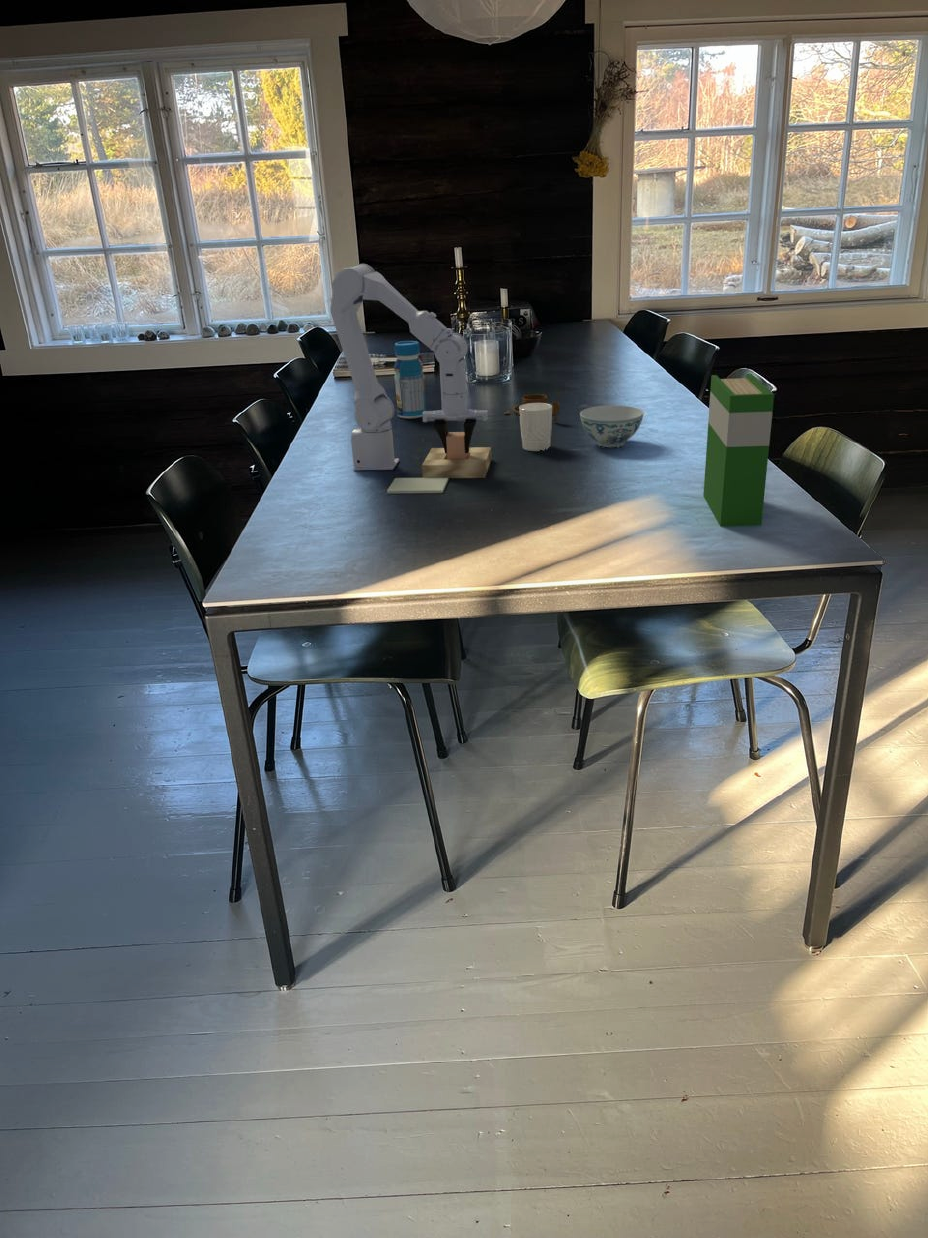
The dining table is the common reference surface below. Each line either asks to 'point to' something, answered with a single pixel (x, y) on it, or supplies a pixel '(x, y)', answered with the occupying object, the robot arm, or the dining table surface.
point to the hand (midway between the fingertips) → (457, 452)
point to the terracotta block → (456, 446)
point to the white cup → (535, 426)
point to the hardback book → (737, 450)
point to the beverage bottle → (409, 380)
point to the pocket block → (457, 464)
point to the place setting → (537, 399)
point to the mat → (418, 485)
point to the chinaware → (611, 424)
